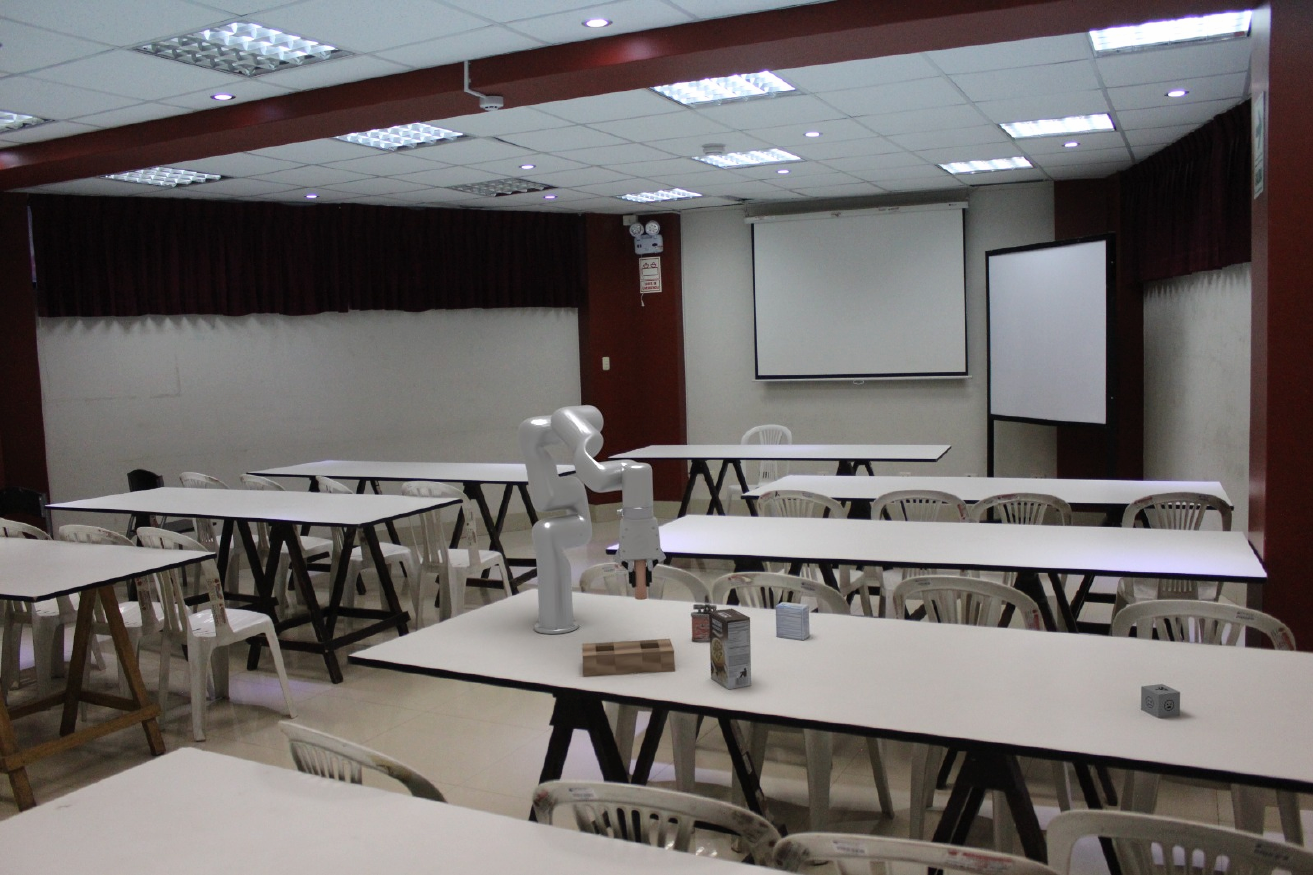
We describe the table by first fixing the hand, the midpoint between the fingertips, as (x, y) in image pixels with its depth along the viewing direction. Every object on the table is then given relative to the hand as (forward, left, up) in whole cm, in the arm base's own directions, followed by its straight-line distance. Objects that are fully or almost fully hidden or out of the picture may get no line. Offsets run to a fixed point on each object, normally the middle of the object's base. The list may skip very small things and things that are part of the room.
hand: (640, 585), depth 242 cm
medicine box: (-12, +41, -19) cm, 47 cm away
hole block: (+5, -4, -19) cm, 20 cm away
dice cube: (+54, +102, -19) cm, 117 cm away
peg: (0, 0, -3) cm, 3 cm away
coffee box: (+20, +19, -19) cm, 34 cm away
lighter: (-13, +18, -19) cm, 29 cm away
